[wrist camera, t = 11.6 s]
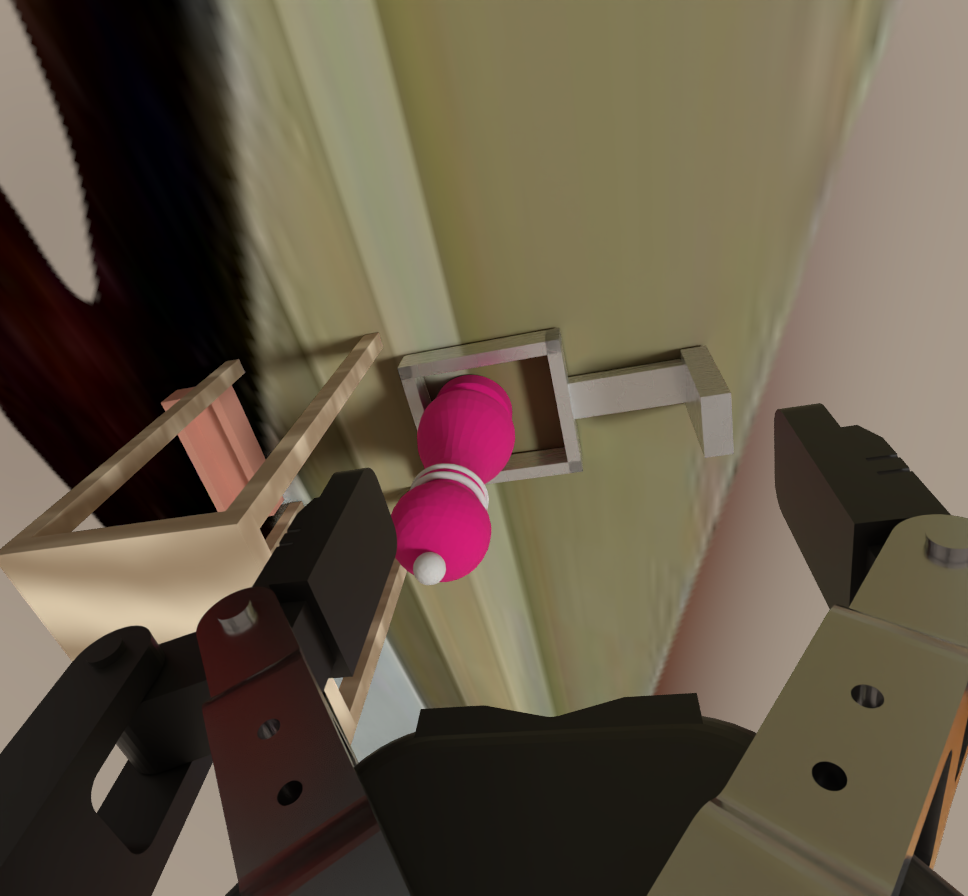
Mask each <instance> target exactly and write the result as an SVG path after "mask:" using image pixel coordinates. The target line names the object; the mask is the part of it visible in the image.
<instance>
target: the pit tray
mask: <svg viewBox="0 0 968 896" xmlns="http://www.w3.org/2000/svg"><path fill="white" fill-rule="evenodd" d="M193 388H195V387H191V388H185V389H180V390H176V391H175V392H174V393H172V394H171V395H170V396H169V397H167V398H166V399H165V400H164V401H162V402H161V404H162V406H163V408H164V410H165V412H166V411H167V410H168V409H169V408H171V407H172V406H173V405H174V404H175V403H177V402H178V401H179V400H180V399H181V398H183V397H184V396H185V395H186V394H187V393H189V392H190V391H191V390H192V389H193ZM177 435H178V436H179V438H180V440H181V442H182V444H183V446H184V448H185V450H186V452H187V454H188V456H189V457H190V459H191V461H192V463H193V465H194V467H195V469H196V471H197V473H198V475H199V477H200V479H201V480H202V482H203V484H204V486H205V488H206V490H207V492H208V494H209V496H210V498H211V500H212V501H213V503H214V505H215V507H216V509H217V511H218V512H223V511H226V510H227V509H228V507H229V506H230V505H231V503H232V502H233V501H234V500H235V498H236V497H237V496H238V495H239V493H240V492H241V491H242V490H243V488H244V487H245V486H246V484H247V483H248V482H249V481H250V479H251V478H252V477H253V476H254V474H255V473H256V472H257V470H258V469H259V468H260V467H261V465H262V464H263V463H264V462H265V460H266V459H265V457H264V455H263V452H262V450H261V448H260V446H259V444H258V441H257V439H256V437H255V435H254V433H253V430H252V428H251V426H250V424H249V422H248V420H247V417H246V415H245V413H244V411H243V409H242V406H241V404H240V402H239V400H238V398H237V396H236V393H235V391H234V389H233V387H232V385H231V386H230V387H229V388H228V389H227V390H226V391H224V392H223V393H222V394H221V395H220V396H219V397H218V398H217V399H216V400H215V401H214V402H212V403H211V404H210V405H209V406H208V407H207V408H206V409H205V410H204V411H203V412H202V413H200V414H199V415H198V416H197V417H196V418H195V419H194V420H193V421H192V422H191V423H189V424H188V425H187V426H186V427H185V428H184V429H183V430H182V431H181V432H180V433H179V434H177ZM283 501H284V498H283V496H282V497H281V498H280V500H279V501H278V503H277V504H276V505H275V507H274V508H273V510H272V511H271V513H270V514H269V516H274V514H275V513H276V511H277V510H278V508H279V507H280V505H281V504H282V502H283Z"/></svg>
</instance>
